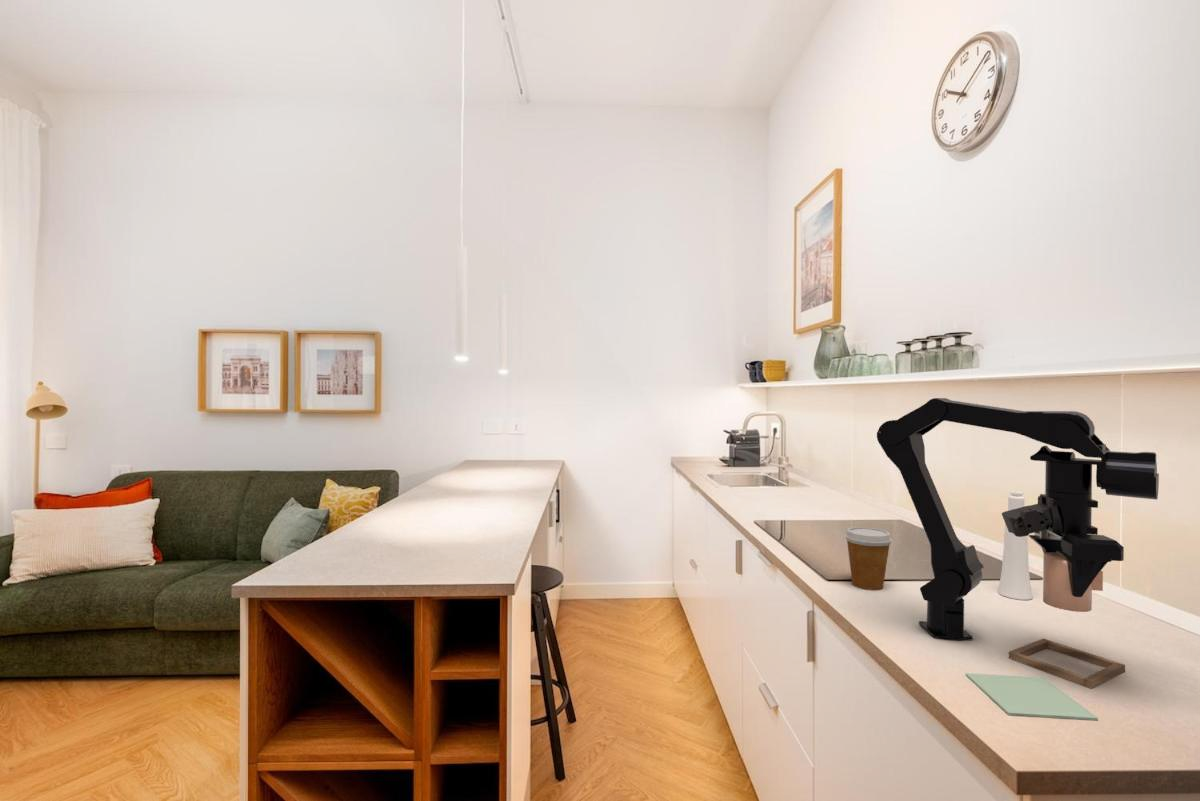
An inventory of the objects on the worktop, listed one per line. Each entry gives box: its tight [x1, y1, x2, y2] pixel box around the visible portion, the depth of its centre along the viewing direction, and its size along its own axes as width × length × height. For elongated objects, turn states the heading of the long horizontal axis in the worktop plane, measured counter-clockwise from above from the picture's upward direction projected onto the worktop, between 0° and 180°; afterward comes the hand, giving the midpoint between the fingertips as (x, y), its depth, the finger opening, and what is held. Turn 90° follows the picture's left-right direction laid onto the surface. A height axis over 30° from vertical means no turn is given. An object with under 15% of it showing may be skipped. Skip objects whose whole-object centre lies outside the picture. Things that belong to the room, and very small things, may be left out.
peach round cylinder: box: [1042, 552, 1104, 613], centre depth 92 cm, size 7×6×8 cm
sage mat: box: [965, 672, 1099, 721], centre depth 83 cm, size 11×11×1 cm
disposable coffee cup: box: [844, 526, 893, 591], centre depth 130 cm, size 10×10×12 cm
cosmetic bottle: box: [997, 490, 1034, 601], centre depth 124 cm, size 6×6×22 cm
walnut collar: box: [1008, 637, 1126, 689], centre depth 92 cm, size 11×11×1 cm
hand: (1066, 589), depth 92 cm, fingers closed on peach round cylinder, 6 cm apart
